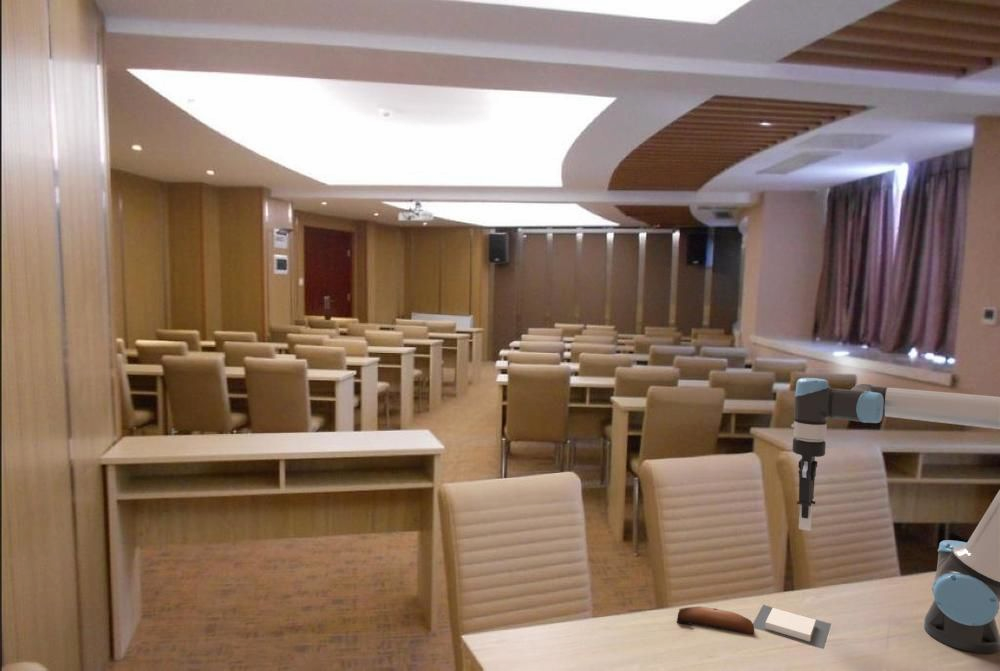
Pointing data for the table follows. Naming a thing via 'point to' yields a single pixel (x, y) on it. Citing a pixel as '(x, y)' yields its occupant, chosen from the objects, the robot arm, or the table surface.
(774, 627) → the tile
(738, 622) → the sunglasses case
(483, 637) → the table surface
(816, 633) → the mat
